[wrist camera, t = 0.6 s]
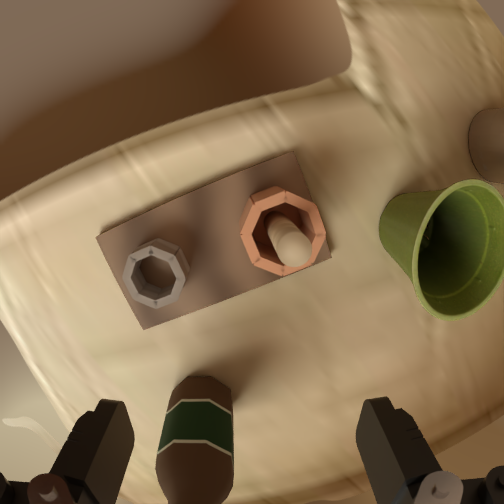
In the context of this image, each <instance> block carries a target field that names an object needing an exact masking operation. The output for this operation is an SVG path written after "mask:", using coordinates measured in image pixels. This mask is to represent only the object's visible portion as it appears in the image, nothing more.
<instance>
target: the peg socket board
mask: <svg viewBox="0 0 504 504" xmlns="http://www.w3.org/2000/svg"><path fill="white" fill-rule="evenodd" d="M273 186H278V187H280V188H283V189H285V190H287V191H289V192H292V193H294V194H296V195H298V196H300V197H302V198H304V199H306V200H308V201H310V202H312V199H311V196H310V193H309V191H308V188H307V185H306V183H305V180H304V177H303V175H302V172H301V169H300V167H299V164H298V161H297V159H296V156H295V154H294V151H292V152H289V153H286V154H284V155H281V156H278V157H276V158H273V159H270V160H268V161H265V162H263V163H260V164H257V165H255V166H252V167H250V168H247V169H245V170H242V171H240V172H237V173H235V174H232V175H230V176H227V177H225V178H223V179H220V180H218V181H215V182H213V183H211V184H208V185H206V186H204V187H201V188H199V189H197V190H194V191H192V192H190V193H187V194H185V195H183V196H181V197H178V198H176V199H174V200H172V201H169V202H167V203H165V204H163V205H161V206H158V207H156V208H154V209H152V210H150V211H148V212H145V213H143V214H141V215H139V216H137V217H135V218H133V219H131V220H129V221H127V222H125V223H122V224H120V225H118V226H116V227H114V228H112V229H110V230H108V231H106V232H104V233H102V234H100V235H98V236H97V237H96V239H97V242H98V244H99V246H100V248H101V250H102V252H103V254H104V256H105V259H106V261H107V263H108V265H109V267H110V269H111V271H112V273H113V275H114V277H115V279H116V281H117V283H118V284H119V286H120V288H121V290H122V292H123V294H124V296H125V298H126V300H127V302H128V303H129V305H130V307H131V309H132V311H133V312H134V314H135V316H136V318H137V320H138V321H139V323H140V325H141V327H142V328H143V330H145V329H148V328H150V327H153V326H156V325H159V324H162V323H164V322H167V321H170V320H173V319H175V318H178V317H181V316H183V315H186V314H189V313H192V312H194V311H197V310H200V309H202V308H205V307H208V306H210V305H213V304H216V303H218V302H221V301H223V300H226V299H229V298H231V297H234V296H237V295H239V294H242V293H244V292H247V291H250V290H252V289H255V288H257V287H260V286H262V285H265V284H267V283H270V282H272V281H275V280H278V279H280V278H283V277H285V276H288V275H290V274H293V273H295V272H298V271H300V270H302V269H300V270H298V271H295V272H293V273H290V274H288V275H285V276H283V274H282V276H280V275H277V274H275V273H272V272H270V271H267V270H264V269H262V268H259V267H257V266H254V265H253V264H252V262H251V260H250V258H249V255H248V253H247V250H246V248H245V246H244V243H243V241H242V239H241V236H240V225H239V220H240V217H241V215H242V213H243V210H244V208H245V206H246V203H247V201H248V199H249V197H251V195H253V194H255V193H258V192H260V191H263V190H265V189H268V188H271V187H273ZM312 203H313V202H312ZM329 258H332V257H331V254H330V251H329V248H328V245H327V242H326V239H325V240H324V242H323V244H322V246H321V248H320V251H319V253H318V255H317V257H316V259H315V261H314V263H311V264H312V265H315V264H317V263H320V262H322V261H325V260H327V259H329ZM312 265H310V266H312ZM310 266H308V267H310ZM305 268H307V267H305ZM305 268H303V269H305Z"/></svg>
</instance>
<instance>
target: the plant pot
mask: <svg viewBox="0 0 504 504" xmlns="http://www.w3.org/2000/svg"><path fill="white" fill-rule="evenodd" d="M427 223H428V228H427V229H426V226H427ZM424 234H425V235H426V236H427V237H428V238H429V239H427V237H426V236H425V235H424ZM379 236H380V240H381V242H382V245H383V246H384V248H385V250H386V251H387V252H388V253H389V254H390V256H391V257H392V258H393V259H394V260H395V261H396V262H397V263H398V265H399V266H400V267H401V268H402V269H403V270H404V272H405V273H406V274H407V275H408V276H409V278H410V279H411V281H412V283H413V285H414V289H415V292H416V295H417V297H418V299H419V301H420V303H421V305H422V306H423V307H424V309H425V310H426V311H427V312H428V313H430V314H431V315H432V316H434V317H436V318H438V319H441V320H445V321H455V320H460V319H463V318H466V317H468V316H470V315H472V314H474V313H475V312H477V311H478V310H479V309H480V308H482V307H483V306H484V305H485V304H486V303H487V302H488V301H489V300H490V299H491V298H492V296H493V295H494V293H495V292H496V291H497V289H498V288H499V286H500V284H501V282H502V280H503V278H504V199H503V197H502V195H501V194H500V193H499V192H498V191H497V190H496V189H495V188H494V187H493V186H492V185H490V184H489V183H487V182H484V181H482V180H478V179H467V180H462V181H459V182H456V183H454V184H453V185H451V186H449V187H448V188H445V189H442V190H436V191H425V192H415V193H405V194H401V195H399V196H397V197H395V198H393V199H392V200H391V201H390V202H389V203H388V205H387V207H386V208H385V210H384V212H383V214H382V215H381V218H380V224H379Z"/></svg>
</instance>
